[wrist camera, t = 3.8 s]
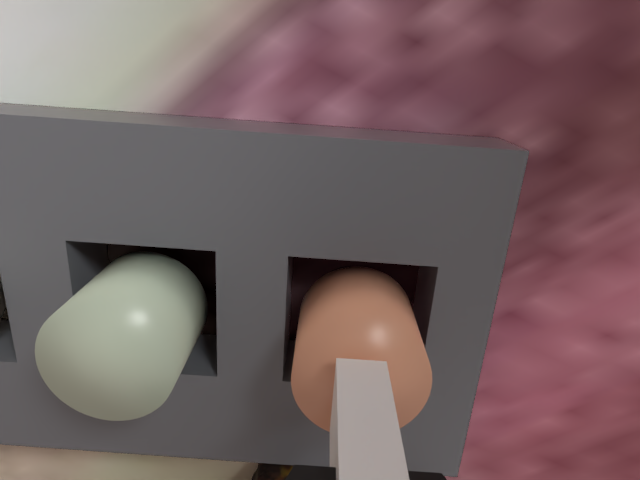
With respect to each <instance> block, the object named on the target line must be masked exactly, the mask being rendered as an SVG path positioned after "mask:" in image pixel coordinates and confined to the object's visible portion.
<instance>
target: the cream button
mask: <svg viewBox="0 0 640 480" xmlns="http://www.w3.org/2000/svg"><path fill="white" fill-rule="evenodd" d="M4 310H5V296H4V291H3V285H2V283H1V280H0V320H1V318H2V316H3V313H4Z"/></svg>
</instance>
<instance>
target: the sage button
mask: <svg viewBox="0 0 640 480" xmlns="http://www.w3.org/2000/svg"><path fill="white" fill-rule="evenodd" d="M207 314H208V303H207V297H206V294H205V291H204V289H203V287H202V285H201V283H200V281H199V280H198V278H197V277H196V276H195V275H194V274H193V272H192V271H191V270H190V269H188V268H187V267H186V266H185V265H183V264H182V263H180V262H179V261H177V260H175V259H173V258H172V257H169V256H166V255H164V254H160V253H156V252H133V253H129V254H126V255H123V256H121V257H119V258H117V259H115V260H114V261H112V262H111V263H110V264H109V265H108V266H106V267H105V268H104V269H103V270H102V271H101V272H100V273H99V274H97V275H96V276H95V277H94V278H93V279H92V280H91V281H90V282H88V283H87V284H86V285H85V286H84V287H83V288H82V289H80V290H79V291H78V292H77V293H76V294H75V295H74V296H73V297H71V298H70V299H69V300H68V301H67V302H66V303H65V304H64V305H62V306H61V307H60V308H59V309H58V310H57V311H56V312H55V313H53V314H52V315H51V316H50V317H49V318H48V319H47V320H46V321H45V322H44V324H43V325H42V327H41V328H40V330H39V333H38V335H37V338H36V342H35V360H36V364H37V368H38V370H39V372H40V375H41V377H42V378H43V380H44V382H45V383H46V385H47V386H48V388H49V389H50V390H51V391H52V392H53V393H54V394H55V395H56V396H57V397H58V398H59V399H60V400H61V401H62V402H64V403H65V404H67V405H68V406H69V407H71V408H73V409H75V410H76V411H78V412H81V413H83V414H85V415H88V416H91V417H94V418H98V419H102V420H110V421H125V420H132V419H137V418H140V417H143V416H146V415H148V414H150V413H152V412H153V411H155V410H156V409H158V408H159V407H160V406H161V405H162V404H163V403H164V402H165V401H166V400H167V398H168V397H169V395H170V393H171V392H172V390H173V388H174V386H175V384H176V382H177V380H178V378H179V376H180V374H181V372H182V370H183V368H184V366H185V363H186V361H187V359H188V357H189V355H190V353H191V351H192V349H193V347H194V345H195V343H196V341H197V339H198V337H199V335H200V333H201V331H202V329H203V327H204V325H205V322H206V319H207Z"/></svg>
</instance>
